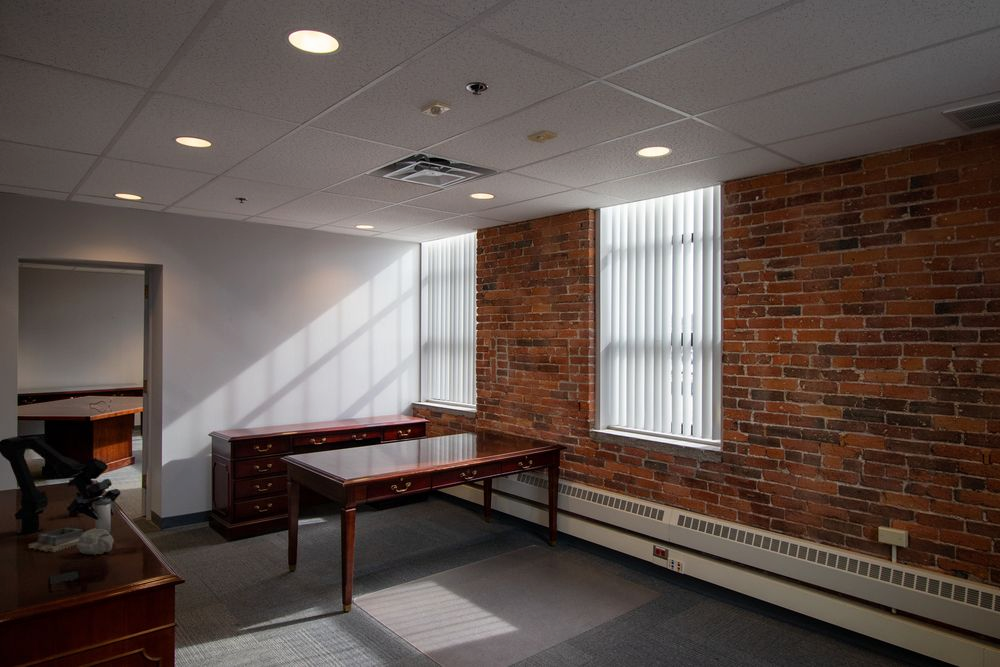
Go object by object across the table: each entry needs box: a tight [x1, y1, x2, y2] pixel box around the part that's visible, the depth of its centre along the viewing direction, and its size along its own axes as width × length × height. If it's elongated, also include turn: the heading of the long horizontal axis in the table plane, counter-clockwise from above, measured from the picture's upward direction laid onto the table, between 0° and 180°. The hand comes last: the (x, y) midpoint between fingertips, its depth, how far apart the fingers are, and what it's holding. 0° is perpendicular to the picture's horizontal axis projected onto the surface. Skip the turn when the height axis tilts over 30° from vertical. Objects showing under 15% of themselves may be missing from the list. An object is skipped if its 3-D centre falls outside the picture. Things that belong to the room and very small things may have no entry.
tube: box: [94, 499, 112, 533], centre depth 239 cm, size 5×5×13 cm
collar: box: [27, 526, 84, 553], centre depth 225 cm, size 14×14×4 cm
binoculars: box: [66, 492, 95, 517], centre depth 266 cm, size 9×11×10 cm
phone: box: [49, 571, 79, 585], centre depth 189 cm, size 7×1×15 cm
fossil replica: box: [76, 527, 115, 556], centre depth 216 cm, size 12×8×10 cm
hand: (105, 516), depth 238 cm, fingers open, 6 cm apart
